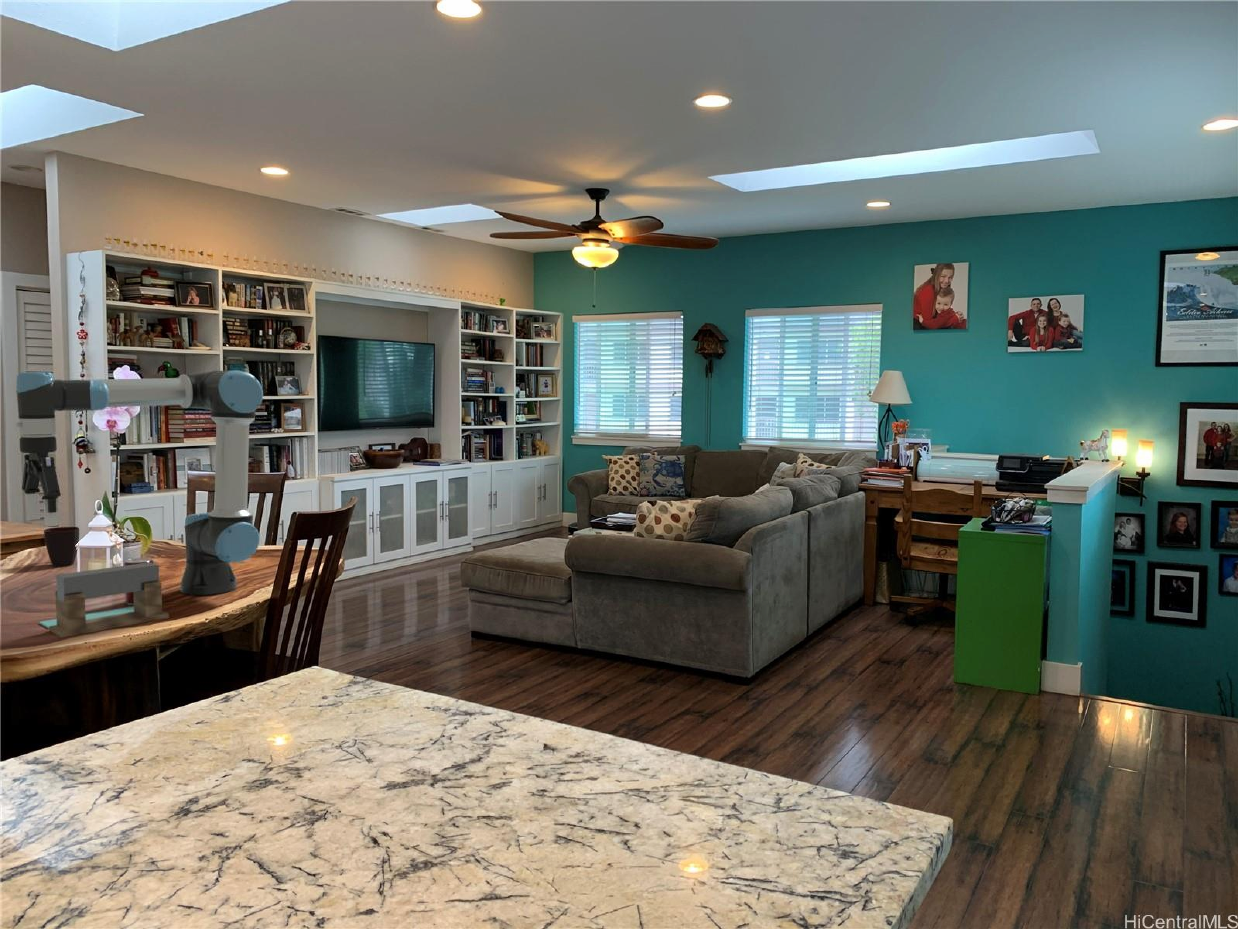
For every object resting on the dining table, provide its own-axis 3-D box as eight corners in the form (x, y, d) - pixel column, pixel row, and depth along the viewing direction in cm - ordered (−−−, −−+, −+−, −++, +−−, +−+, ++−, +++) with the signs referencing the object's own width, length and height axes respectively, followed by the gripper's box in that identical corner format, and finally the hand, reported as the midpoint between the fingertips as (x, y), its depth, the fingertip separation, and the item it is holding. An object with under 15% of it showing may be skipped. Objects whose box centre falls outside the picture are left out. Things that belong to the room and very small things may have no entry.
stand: (155, 612, 240) (154, 576, 239) (169, 617, 235) (167, 581, 234) (49, 630, 221) (47, 591, 220) (61, 637, 216) (59, 597, 215)
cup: (44, 569, 292) (42, 532, 291) (48, 561, 304) (46, 526, 303) (79, 566, 297) (78, 530, 296) (82, 559, 309) (80, 524, 308)
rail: (151, 584, 237) (150, 562, 237) (159, 587, 234) (158, 565, 233) (57, 599, 220) (56, 574, 220) (64, 602, 217) (63, 578, 217)
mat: (139, 606, 246) (139, 605, 246) (149, 611, 241) (149, 609, 241) (39, 623, 228) (39, 622, 228) (48, 628, 223) (48, 627, 223)
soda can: (142, 606, 246) (140, 563, 245) (119, 605, 247) (117, 562, 246) (160, 600, 253) (159, 558, 252) (138, 598, 254) (136, 557, 253)
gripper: (4, 434, 223) (9, 518, 225) (36, 439, 207) (41, 530, 209) (38, 433, 229) (43, 515, 231) (73, 437, 212) (77, 526, 214)
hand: (42, 522), depth 220 cm, fingers open, 13 cm apart
